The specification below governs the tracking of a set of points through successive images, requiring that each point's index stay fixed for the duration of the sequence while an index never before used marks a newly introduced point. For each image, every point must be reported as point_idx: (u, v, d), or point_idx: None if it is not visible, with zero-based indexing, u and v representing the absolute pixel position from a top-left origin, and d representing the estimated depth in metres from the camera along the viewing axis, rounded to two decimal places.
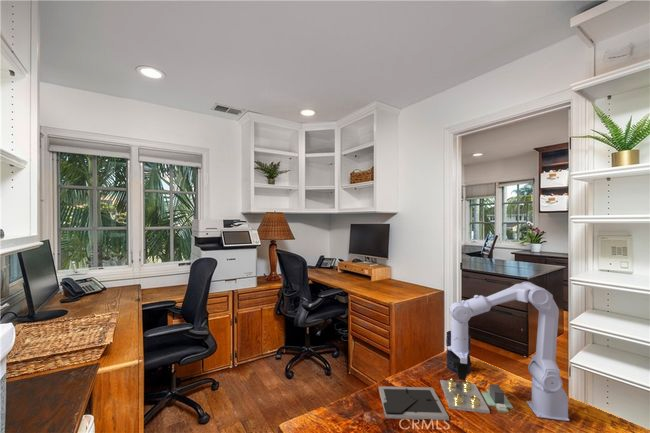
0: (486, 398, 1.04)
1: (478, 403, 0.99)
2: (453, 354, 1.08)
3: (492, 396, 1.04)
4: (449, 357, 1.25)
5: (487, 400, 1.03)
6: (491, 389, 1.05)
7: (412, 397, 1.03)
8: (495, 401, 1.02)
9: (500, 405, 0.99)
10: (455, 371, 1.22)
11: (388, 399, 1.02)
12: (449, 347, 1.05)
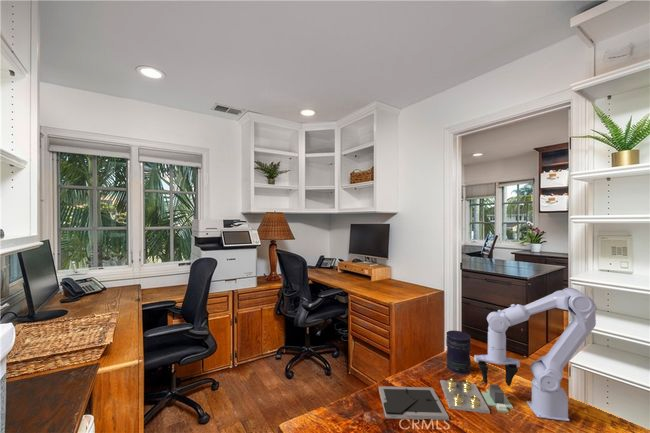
0: (486, 398, 1.04)
1: (478, 403, 0.99)
2: (506, 368, 1.04)
3: (492, 396, 1.04)
4: (449, 357, 1.25)
5: (487, 400, 1.03)
6: (491, 389, 1.05)
7: (412, 397, 1.03)
8: (495, 401, 1.02)
9: (500, 405, 0.99)
10: (455, 371, 1.22)
11: (388, 399, 1.02)
12: None
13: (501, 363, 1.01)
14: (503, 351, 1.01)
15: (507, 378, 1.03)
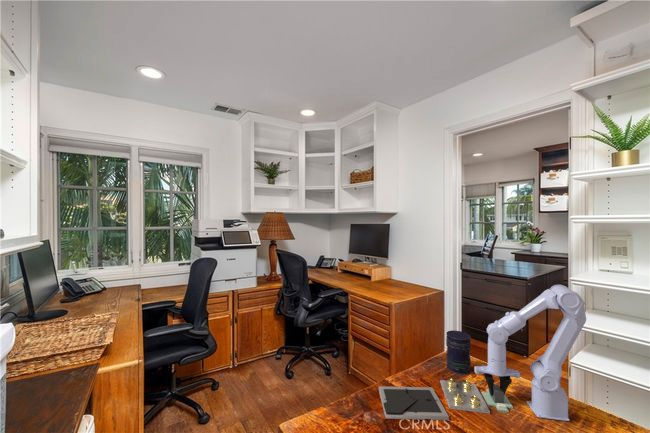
0: (486, 398, 1.04)
1: (478, 403, 0.99)
2: (500, 379, 1.05)
3: None
4: (449, 357, 1.25)
5: (487, 400, 1.03)
6: None
7: (412, 397, 1.03)
8: (495, 401, 1.02)
9: (500, 405, 0.99)
10: (455, 371, 1.22)
11: (388, 399, 1.02)
12: None
13: (501, 375, 1.01)
14: (503, 363, 1.01)
15: None
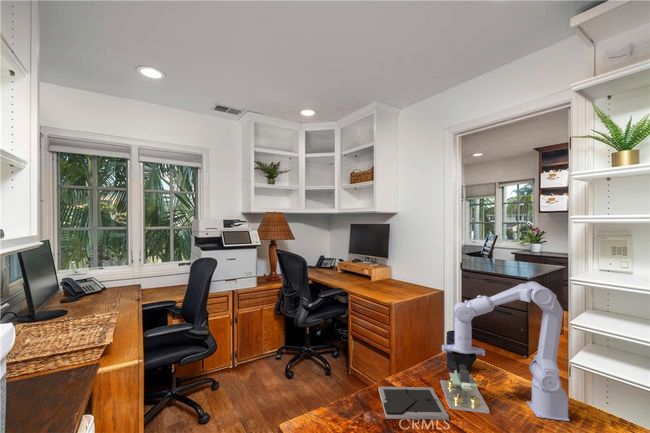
0: (453, 378, 1.07)
1: (478, 403, 0.99)
2: (466, 357, 1.07)
3: (458, 375, 1.06)
4: (449, 357, 1.25)
5: (453, 380, 1.05)
6: None
7: (412, 397, 1.03)
8: (461, 380, 1.04)
9: (465, 384, 1.02)
10: None
11: (388, 399, 1.02)
12: None
13: (466, 352, 1.03)
14: (468, 340, 1.03)
15: (467, 366, 1.06)
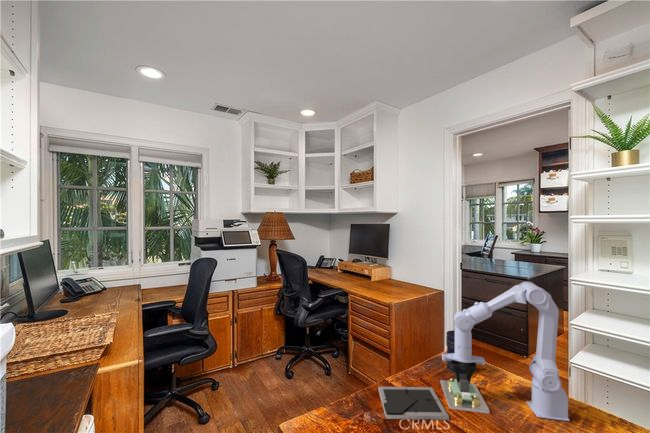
0: (453, 387, 1.07)
1: (478, 403, 0.99)
2: (466, 366, 1.07)
3: (458, 385, 1.06)
4: None
5: (453, 389, 1.05)
6: None
7: (412, 397, 1.03)
8: (461, 390, 1.04)
9: (465, 393, 1.02)
10: None
11: (388, 399, 1.02)
12: None
13: (466, 361, 1.03)
14: (468, 350, 1.03)
15: (467, 375, 1.06)
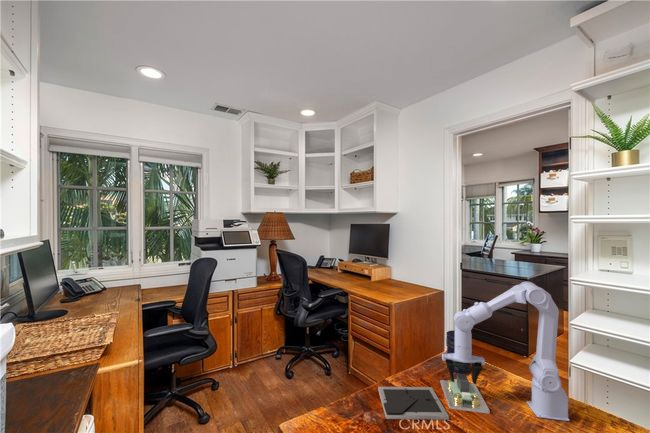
0: (453, 387, 1.07)
1: (478, 403, 0.99)
2: (472, 366, 1.07)
3: (458, 385, 1.06)
4: None
5: (453, 389, 1.05)
6: (458, 378, 1.07)
7: (412, 397, 1.03)
8: (461, 390, 1.04)
9: (465, 393, 1.02)
10: (455, 371, 1.22)
11: (388, 399, 1.02)
12: None
13: (466, 361, 1.03)
14: (468, 350, 1.03)
15: (473, 376, 1.05)
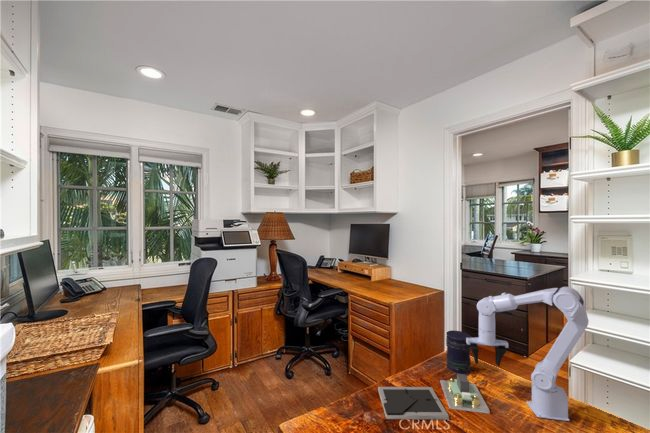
0: (453, 387, 1.07)
1: (478, 403, 0.99)
2: (495, 350, 1.11)
3: (458, 385, 1.06)
4: (449, 357, 1.25)
5: (453, 389, 1.05)
6: (458, 378, 1.07)
7: (412, 397, 1.03)
8: (461, 390, 1.04)
9: (465, 393, 1.02)
10: (455, 371, 1.22)
11: (388, 399, 1.02)
12: None
13: (491, 344, 1.08)
14: (492, 333, 1.08)
15: (497, 359, 1.10)
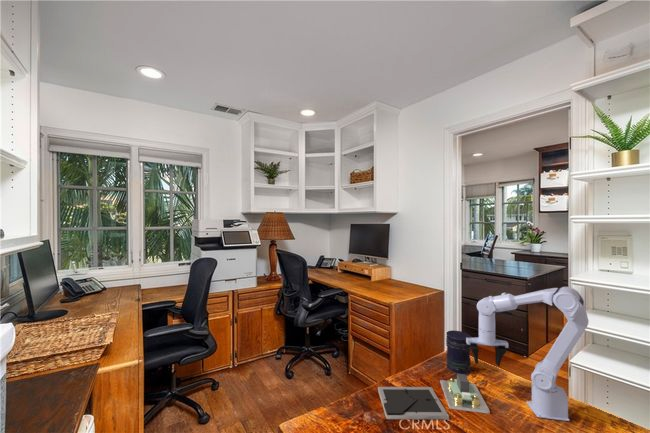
0: (453, 387, 1.07)
1: (478, 403, 0.99)
2: (495, 350, 1.11)
3: (458, 385, 1.06)
4: (449, 357, 1.25)
5: (453, 389, 1.05)
6: (458, 378, 1.07)
7: (412, 397, 1.03)
8: (461, 390, 1.04)
9: (465, 393, 1.02)
10: (455, 371, 1.22)
11: (388, 399, 1.02)
12: None
13: (491, 344, 1.08)
14: (492, 333, 1.08)
15: (497, 359, 1.10)
